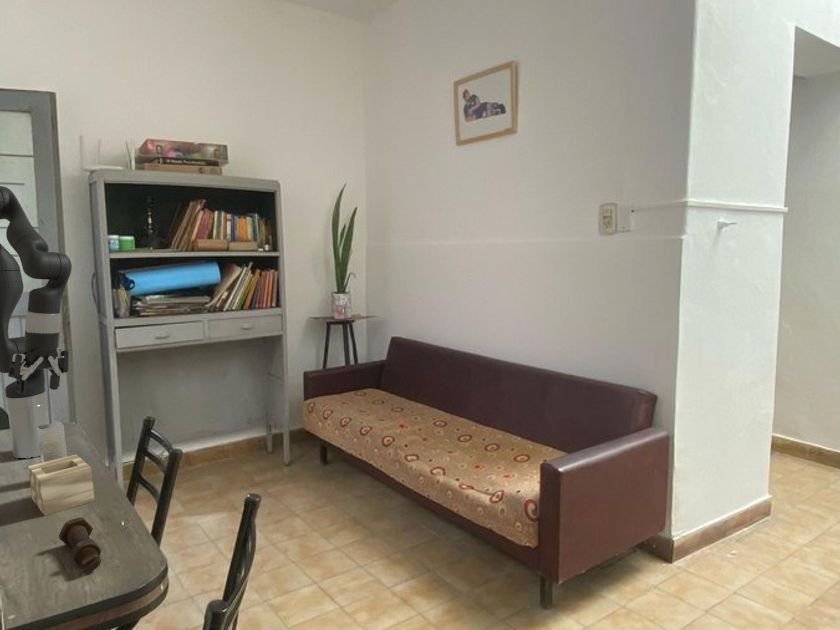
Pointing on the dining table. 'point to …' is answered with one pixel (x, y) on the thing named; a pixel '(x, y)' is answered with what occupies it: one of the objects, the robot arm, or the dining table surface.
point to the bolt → (81, 543)
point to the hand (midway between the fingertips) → (37, 391)
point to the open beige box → (61, 484)
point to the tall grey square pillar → (52, 441)
